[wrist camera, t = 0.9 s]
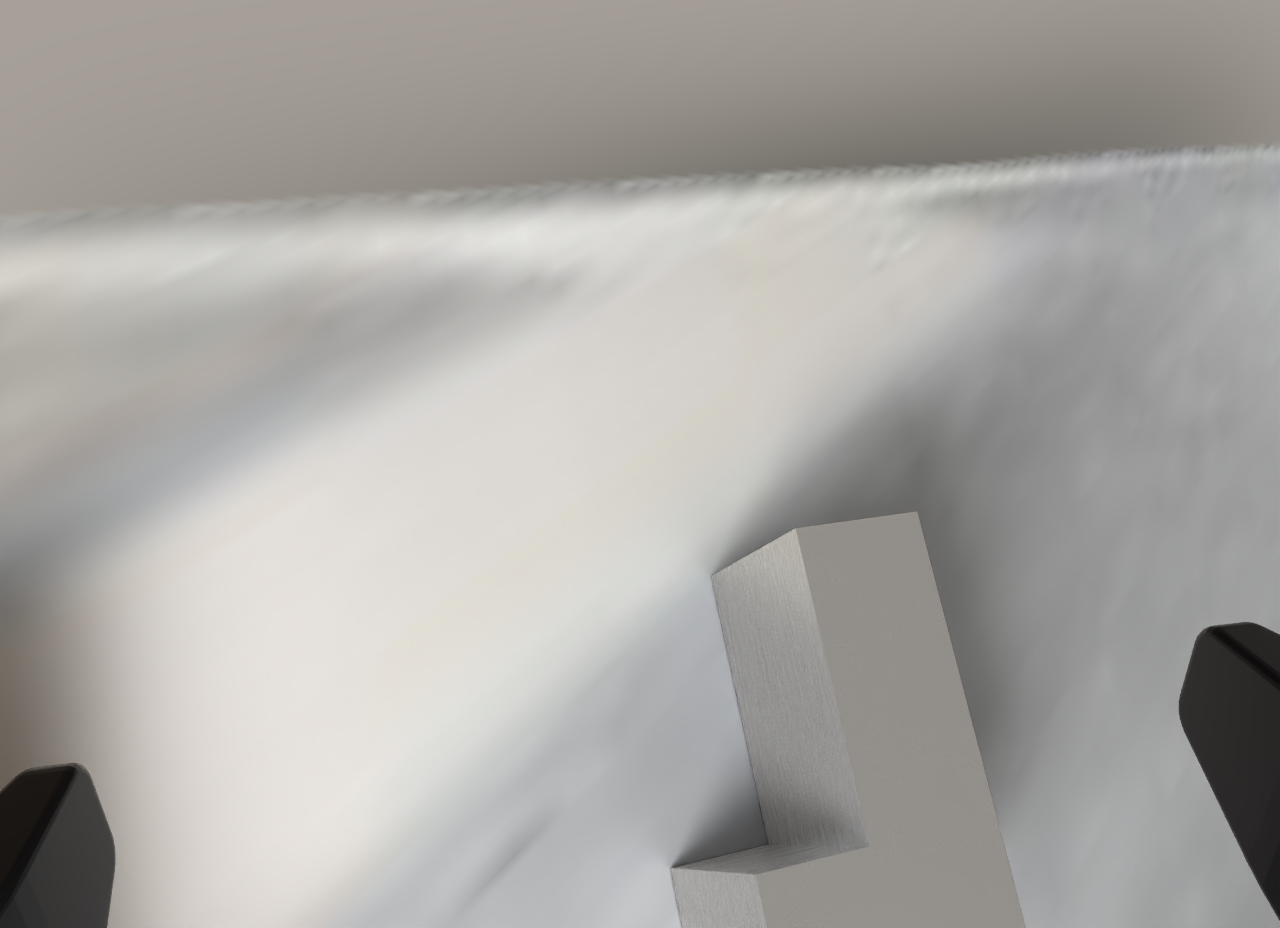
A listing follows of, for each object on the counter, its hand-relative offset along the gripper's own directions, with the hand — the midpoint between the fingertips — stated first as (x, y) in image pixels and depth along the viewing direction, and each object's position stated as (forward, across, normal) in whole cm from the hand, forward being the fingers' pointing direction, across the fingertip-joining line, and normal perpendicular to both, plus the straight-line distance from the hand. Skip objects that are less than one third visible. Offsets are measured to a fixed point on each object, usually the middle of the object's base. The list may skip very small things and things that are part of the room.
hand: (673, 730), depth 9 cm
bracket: (+13, -4, +14) cm, 20 cm away
